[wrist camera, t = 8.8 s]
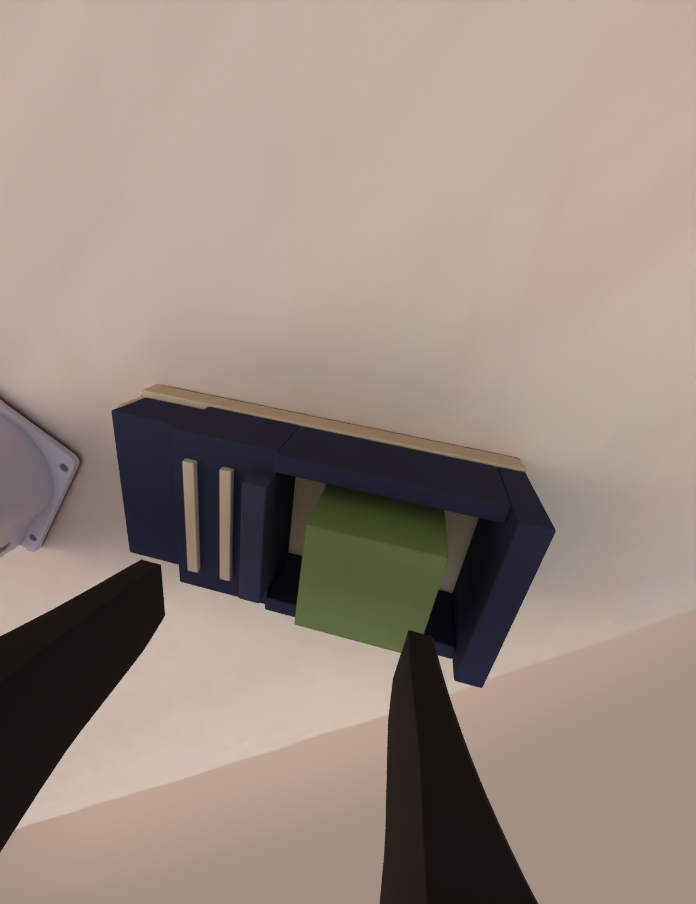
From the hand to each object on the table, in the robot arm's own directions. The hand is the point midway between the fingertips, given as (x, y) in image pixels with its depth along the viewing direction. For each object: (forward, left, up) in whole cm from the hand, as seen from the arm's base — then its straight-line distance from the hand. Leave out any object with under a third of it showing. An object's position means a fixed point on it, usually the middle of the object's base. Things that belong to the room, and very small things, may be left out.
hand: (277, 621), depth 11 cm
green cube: (0, -3, -8) cm, 9 cm away
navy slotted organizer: (-2, 0, -9) cm, 10 cm away
